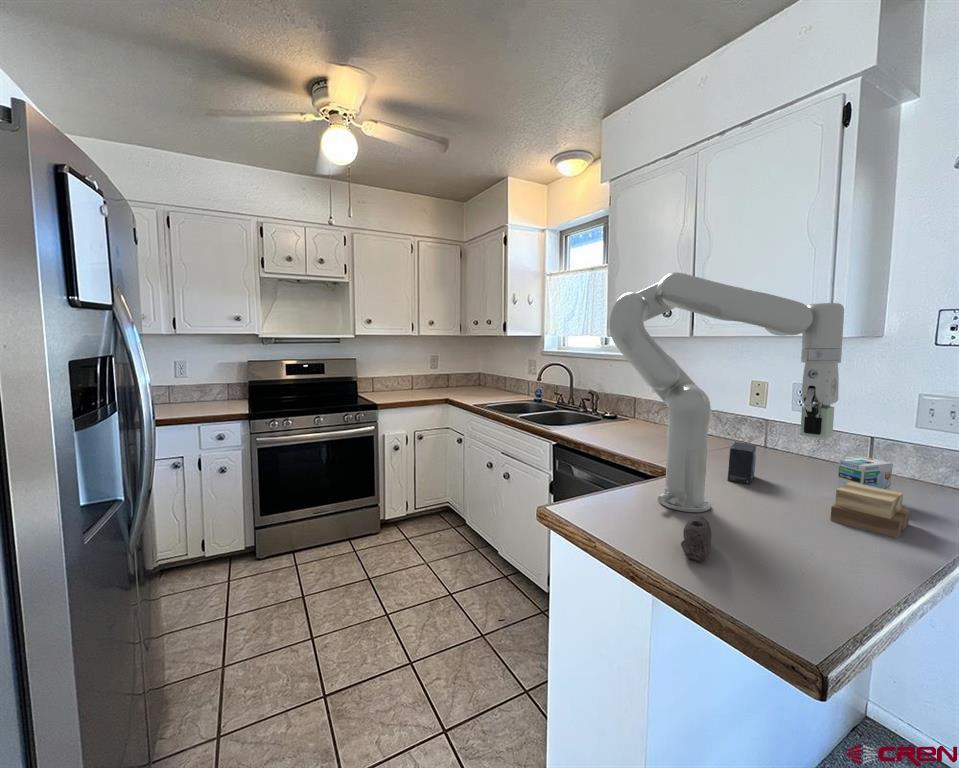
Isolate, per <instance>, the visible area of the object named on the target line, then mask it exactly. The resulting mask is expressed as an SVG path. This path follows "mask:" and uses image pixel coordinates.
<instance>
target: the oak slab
mask: <svg viewBox="0 0 959 768" xmlns="http://www.w3.org/2000/svg"><path fill="white" fill-rule="evenodd" d="M835 490H836V491H835V492H836V493H835V501H834V504H835V505H836V506H840V507H844V508H847V509H851V510H855V511H859V512H863V513H867V514H871V515H875V516H879V517H883V518H887V519H891V518H892V517H893V516H894V515H895V514H896V513H898V512H899V511H900V510H901V509H902V508H903V507H902V506H903V496H904V493H903V492H901V491H894V490H891V489H890V490H887V489H882V488H877V487H873V486H868V485H863V484H859V483H854V482H849V483H847V484H845V485H843V486H842V487H840V488H838V489H837V488H836V489H835Z"/></svg>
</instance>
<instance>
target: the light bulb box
mask: <svg viewBox="0 0 959 768" xmlns="http://www.w3.org/2000/svg"><path fill="white" fill-rule="evenodd" d="M893 467H894V463H892V462H888V461H885V460H879V459H876V458H873V457H868V456H864V457H855V458H854V457H852V458H847V459H846V458H845V459H839V464H838V475H837V488H836V489H838V488H840V487H842V486H843V485H845V484H847V483H849V482H854V483H859V484H863V485H868V486H873V487H877V488H882V489H887V490H891V485H892V476H893Z"/></svg>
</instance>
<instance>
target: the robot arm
mask: <svg viewBox="0 0 959 768" xmlns="http://www.w3.org/2000/svg"><path fill="white" fill-rule="evenodd" d="M675 308H676V309H677V308H678V309H681V310H684V311H686V312H687V311H688V312H692V313H695V314H698V315H701V316H706V317H708V318H712V319H715V320H719V321H724V322H725V321H726V322H738V323H743V324H747V325H754V326H757V327H761V328H764V329H765V330H766V331H767V332H768V333H770V334H771V335H775V336H779V337H781V336H783V337H784V336H785V337H786V336H796V335H797V336H798V335H800V334H802V335H801V336H802V337H801V339H802V340H801V357H800V363H803V364H804V365H803V366H804V367H803V372H802V373H803V374H802V383H801V402H802V403H803V406H805V421H804V433H808V434H816V435H819V434H821V423H822V418H820V414H821V407H822V406H831V405H834V404H836V403H837V402H838V401H839V387H840V386H839V380H840V379H839V364H840V363H842V354H843V352H842V351H843V337H844V322H845V321H844V320H845V307H844V305H843V304H842V303H838V302H821V303H812V304H809V305H807V304H804V303H803V302H800V301H797V300H794V299H790V298H786V297H782V296H777V295H775V294H770V293H765V292H762V291H756V290H752V289H747V288H744V287H739V286H733V285H729V284H726V283H725V284H724V283H721V282H718V281H713V280H709V279H706V278H703V277H699V276H695V275H691V274H686V273H684V272H670V273H668V274H666V275H665V276H663V277H662V279H660V281H659V282H656V283H655V284H652V285H651V286H648V287H647V288H644V289H642V290H640V291H637V292H634V291H633V292H626V293H623V294H622V295H621V296H619V297H618V298H617V300H616V301H615V303H614V305H613V307H612V309H611V312H610V316H609V322H608V323H609V332H610V336H611V338H612V341H613V343H614V344H615V346H616V348H617V349H618V350H619V352H620V353H621V354H622V355H623V356H624V358H625V359H626V360H627V362H628V363H629V364H630V365H631V366H632V367H633V368H634V370H635V371H636V372H637V373H638V375H639V376H640V377H641V378H642V380H643V381H644V383H645V384H646V385H647V386H649V387H650V388H651V389H652V390H653V392H654V393H656V395H657V396H658V397H659V398H660V399H661V400H662V401H663V403H664V404H665V405H666V406H667V408H668V418H667V419H668V422H667V437H666V438H667V439H666V463H665V464H666V465H665V484H664V485H665V487H664V492H662V493H660V494H659V495H658V496H657V501H658V502H659V503H660V504H661V505H662V506H664V507H667V508H669V509H671V510H675V511H680V512H685V513H703V512H707V511H708V510H710V508H711V507H712V506H711V505H712V504H711V502H710V500H709V499H707V498H706V497H705V493H706V491H705V490H706V474H707V473H706V472H707V457H708V456H707V454H708V434H709V426H710V419H711V410H712V409H711V402H710V399H709V396H708V395H707V394H706V392H705V391H704V390H703V389H702V388H700V387H699V386H698V385H697V384H696V383H695V382H694V381H693V380H692V379H691V378H690V376H689V375H688V374H687V373H686V371H684V370H683V368H681V366H680V365H679V364H678V363H677V361H676V360H675V359H674V358H673V357H671V356H670V355H668V354H667V353H666V352H665V350H664V348H662V347H661V346H660V345H659V344H658V343H657V341H655V339H654V338H653V337H652V336H651V335H650V333H649V332H648V331H647V330H646V327H645V325H644V322H646V321H648V320H649V321H650V320H651V319H654V318H655V317H658V316H660V315H661V316H662V315H663V314H665V313H668V312H669V311H671V310H673V309H675ZM815 407H817V411H816V408H815Z"/></svg>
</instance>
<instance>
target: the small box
mask: <svg viewBox="0 0 959 768" xmlns="http://www.w3.org/2000/svg"><path fill="white" fill-rule="evenodd" d="M728 458H729V459H728V471H727V481H728V482H729V481H731V482H735V483H740V484H746V485H751V483H752V481H753V480H754V477H755V472H756V471H755V470H756V458H757V445H756V444H751V443H745V442H738V441H735V442H733V444H732V445H731V446H730V448H729V456H728Z"/></svg>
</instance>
